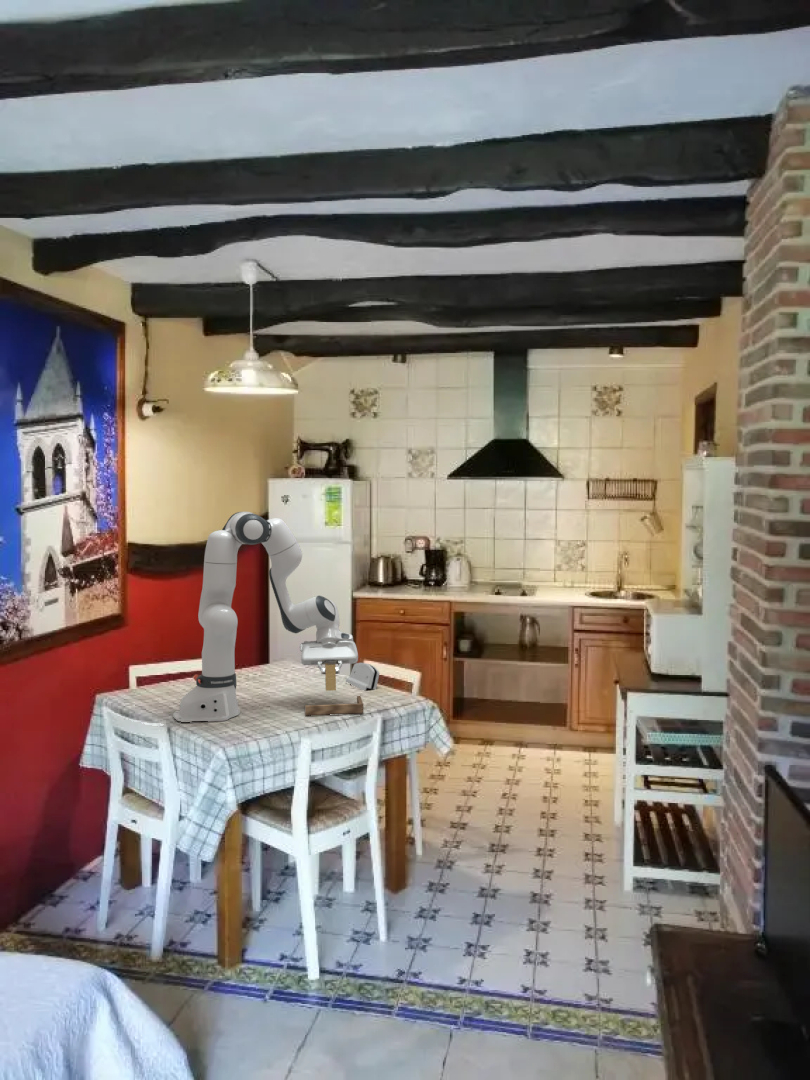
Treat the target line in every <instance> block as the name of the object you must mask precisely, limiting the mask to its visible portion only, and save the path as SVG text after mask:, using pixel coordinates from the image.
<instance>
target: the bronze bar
mask: <svg viewBox="0 0 810 1080" xmlns="http://www.w3.org/2000/svg"><path fill="white" fill-rule="evenodd" d="M336 665H337V664H336V663H335V660H327V661H325V665H324V668H325V671H326V673H325V674H324V677H325V678H324V679H325V680H324V681H325V688H324V689H325V691H326V692H328V691H329V692H330V691H332V692H333V691H336V690H337V674H336Z"/></svg>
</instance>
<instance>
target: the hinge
mask: <svg viewBox="0 0 810 1080" xmlns="http://www.w3.org/2000/svg"><path fill="white" fill-rule="evenodd" d="M379 677H380V671H379V670H378V669H377V668H376V667H375V666H373V665H372V664H369V663H366V662H356V663H353V667H352V668H351V672H350V674H349V676H348V677H346V679H345V682H348V683H350V684H352V685H353V686H352V687H354V686H355V687H354V688H356V687H357V689H358V688H359V689H358V690H361V691H363V690H364V691H363V692H366V691H367V689H372V690H374V691H376V690H377V685H378V683H379ZM375 689H376V690H375Z"/></svg>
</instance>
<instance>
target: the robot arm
mask: <svg viewBox="0 0 810 1080" xmlns="http://www.w3.org/2000/svg"><path fill="white" fill-rule="evenodd" d="M257 544H262V545H263V547H264V548H265V551H266V552H267V554H268V556H269V559H270V563H271V567H270V568H269V570H268V574H269V580H270V584H271V587H272V591H273V594H274V596H275V599H276V600H275V601H276V602H277V605H278V608H279V611H280V616H281V617H280V618H281V622H282V625H283V627H284V629H285V630H287V631H288V632H289V633H290V632H291V633H292V634H299V633H301V632H303V631H304V630H306V629H309V628H311V627H314V626H315V628H316V633H315V637H316V638H315V640H311V641H307V640H305V641H303V642H301V644H299V651H300V652H301V655H300V656H301V657H300V660H301V661H300V662H301V665H303V666H317V668H318V669H319V670H320V674H321V675H325V673H326V671H325V667H324V666H325V661H327V660H335V663H336V665H337V667H336V675H340V670H341V669H342V667H343V665H346V664H348V665H349V664H356V663H358V661H359V653H358V648H357V645H356V643H355V641H354V637H353V636H354V635H352V634H351V633H346V632H343V631H340V623H341V622H340V615H339V610H338V607H337V604H336V603H335V602H334V601H333V600H330V599H328V598H326V597H324V596H322V595H317V596H314V597H311V598H308V599H306V600H303V601H300V602H298V603H296V604H294V603H293V602H292V600H291V597H290V594H289V591H288V587H287V583H286V580H287V578H288V577H290V575H291V574H293V572H294V571H295V570H297V568H298V567H299V566H300V564H301V563H302V559H303V553H302V552H303V551H302V547H301V546H300V545H299V542H298V541H297V539H296V537H295V535H294V533H293V531H292V530H291V529H290V527H289V526H288V524H286V522H285V521H284V520H283V519H282V518H279V517H273V518H269V519H265V518H263V517H262V516H260V515H259V514H256V513H253V512H251V511H237V512H235V513H233V514H232V515H230V517H229V518H228V519H227V521H226V523H225V524H224V526H223V528H222V529H219V530H215V531H213V532H211V533H209V535H208V537H207V541H206V546H205V549H204V557H203V558H204V559H203V560H204V561H203V573H202V574H203V576H202V588H201V589H202V590H201V593H200V599H199V606H198V613H197V614H198V615H197V616H198V622H199V624H200V626H201V627H202V628H203V645H202V651H201V674H200V675H199V674H196V673H195V674H194V675H193V677H192V679H193V680H194V681H195V683H196V684H195V685H196V686H194V688H192V689H191V690H189V692H186V694H185V695H184V696H182V698H181V700H180V705H179V709H178V710H175V711H174V712H173V715H172V717H174V718H175V719H176V720H178V721H181V722H186V721H208V722H222V721H223V722H224V721H228V720H229V719H231V718H234V717H237V716H238V715H240V714H241V711H240V707H239V703H238V698H237V692H236V691H237V681H238V680H237V673H236V672H235V671H236V670H235V667H236V665H235V663H236V662H235V648H236V641H237V640H236V639H237V632H238V631H237V629H238V626H239V625H238V621H239V620H238V616H237V613H236V612H235V610H234V609H233V608H232V603H233V597H234V592H235V588H236V585H237V583H236V582H237V565H238V564H237V563H238V551H239V549H240V547H241V546H242V545H247V546H248V545H252V546H253V545H257ZM323 665H324V666H323ZM174 718H173V719H174ZM176 720H175V721H176ZM181 722H180V723H181Z"/></svg>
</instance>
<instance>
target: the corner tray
mask: <svg viewBox="0 0 810 1080" xmlns="http://www.w3.org/2000/svg"><path fill="white" fill-rule="evenodd" d="M304 707H305V708H304V714H305V715H304V716H305V717H312V716H311V715H330V714H354V715H363V714H364V701H363V700H362V697H361V695H356V703H339V704H316V705H315V704H314V705H313V704H311V705H310V704H309V705H304ZM362 713H363V714H362ZM330 716H331V715H330Z"/></svg>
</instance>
